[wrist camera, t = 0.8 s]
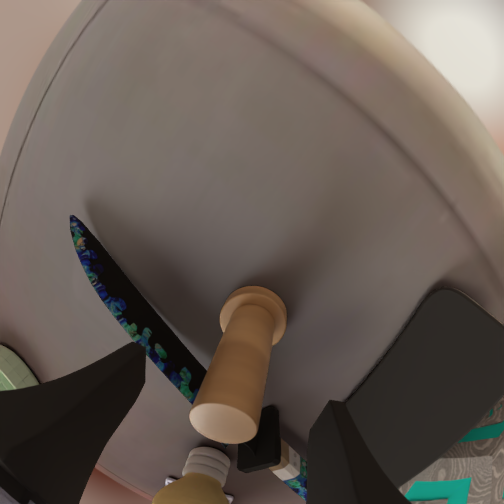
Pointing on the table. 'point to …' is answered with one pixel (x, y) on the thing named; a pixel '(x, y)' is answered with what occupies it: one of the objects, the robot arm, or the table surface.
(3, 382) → the bowl
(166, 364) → the knife
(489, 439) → the sculpture
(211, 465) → the light bulb
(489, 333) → the smartphone
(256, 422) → the pestle
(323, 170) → the table surface
